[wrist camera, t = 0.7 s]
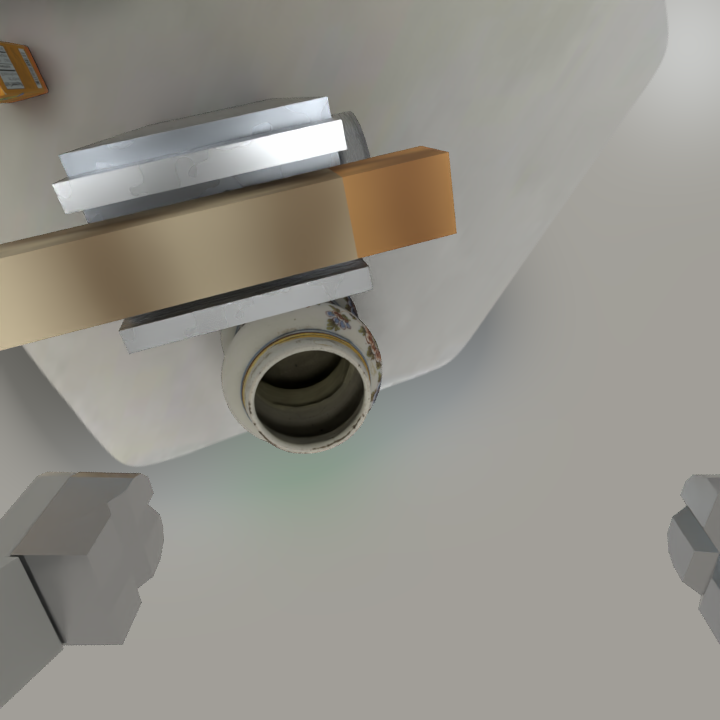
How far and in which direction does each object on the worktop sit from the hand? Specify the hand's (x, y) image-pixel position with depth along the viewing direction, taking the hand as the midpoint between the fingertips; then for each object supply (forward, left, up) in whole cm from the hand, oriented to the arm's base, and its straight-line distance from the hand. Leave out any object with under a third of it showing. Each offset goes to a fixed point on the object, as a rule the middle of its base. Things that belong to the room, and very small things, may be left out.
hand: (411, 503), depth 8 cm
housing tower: (-3, -1, -42) cm, 42 cm away
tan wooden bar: (-4, -2, -16) cm, 17 cm away
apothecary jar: (+8, -10, -42) cm, 44 cm away
